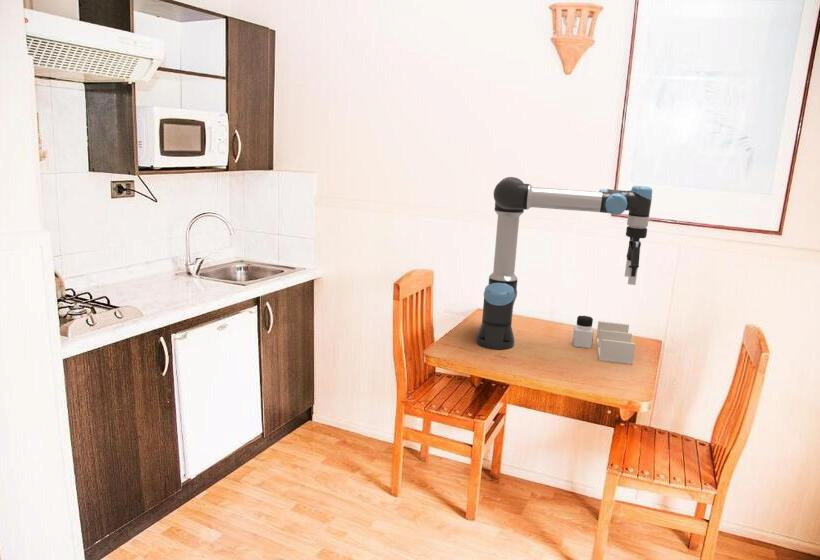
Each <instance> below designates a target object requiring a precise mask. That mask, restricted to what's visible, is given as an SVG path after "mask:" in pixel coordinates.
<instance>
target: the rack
mask: <svg viewBox="0 0 820 560" xmlns="http://www.w3.org/2000/svg"><path fill="white" fill-rule="evenodd" d="M629 328H630V324H626V323H621V322H620V323H619V322H611V321H610V322H609V321H602V320H601V321H600V320H598V323H597V329H596V338H595V339H596V340H595V341H596V346H597V347H596V348H597V354H598V360H599V361H603V362H613V363H618V364H619V363H621V364H626V365H627V364H628V365H633V362H634V356H635V349H636V348H635V347H636V342H632V338H633V337H632V336H633V333H632V332H629V331H630V330H629Z"/></svg>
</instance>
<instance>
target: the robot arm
mask: <svg viewBox="0 0 820 560" xmlns="http://www.w3.org/2000/svg"><path fill="white" fill-rule="evenodd" d="M493 199H494V212H495V213H496V214H497V221H496V223H497V225H496V233H495V234H496V236H495V248H494V249H495V250H494V259H493V272H492V273H490V275H489V277H488V284H487V285H486V286H485V288H484V292H483V307H482V316H481V317H482V320H481V324H480V327H479V329H478V332H477V334H476V337H475V342H476V344H477V345H479V346H480V347H484V348H488V349H492V350H507V349H508V350H509V349H511V348H513V347H514V346H515V335H514V331H513V328H512V321H513V311H514V310H513V309H514V305H515V302H516V299H517V296H518V289H517V286H518V277H517V275H516V274H515V270H516V269H515V268H516V259H517V246H518V237H519V236H518V235H519V223H520V216H522V214H524V212H525V211H524V210H529V209H531V208H537V209H538V208H539V209H549V210H551V209H553V210H563V211H564V210H565V211H577V212H590V213H591V212H593V213H603V214H604V213H605V214H610V215H613V216H618V215H621V214H623V213H625V211H628V216H627V220H626V221H627V222H626V225H627V227H626V229H625V230H626V231H625V236H626V237H628V238H629V241H628V248H627V253H626V256H625V257H626V262H625V263H626V264H625V272H624V277H626V278H628V280H627V285H631V286H632V285H633V286H635V285H636V282H637V276H638V268H640V257H641V256H640V254H641V247H642V246H641V245H642V242H641V241H640V239H646V238H647V235H648V229H647V227H648V226H649V222H651V219H650V213H651V207H652V200H653V189H652V187H650V186H644V185H634V186H632V187H631V190H620V189H609V188H607V189H604V188H603V189H600V190H599V191H595V190H594V191H593V190H579V189H567V188H566V189H565V188H551V187H550V188H549V187H537V186H536V187H535V186H533V185H532V184H531V183H525V182H524V181H522V180H521V179H520V178H519V177H515V176H514V177H513V176H508V177H504V178H503V179H501V180H500V181H499V182H498V183H497V184H496V186H495V187H494V189H493Z"/></svg>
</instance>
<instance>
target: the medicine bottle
mask: <svg viewBox="0 0 820 560" xmlns="http://www.w3.org/2000/svg"><path fill="white" fill-rule="evenodd" d="M593 319H594V318H592V317H591V316H589V315H586V314H585V315H583V314H582V315H578V316H577V318H576V324H574V325H573V326H574V327H573V334H572V345H573V347H575V348H583V349H590V350H591V349H592V347H593V339H594V329H593V321H594V320H593Z"/></svg>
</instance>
